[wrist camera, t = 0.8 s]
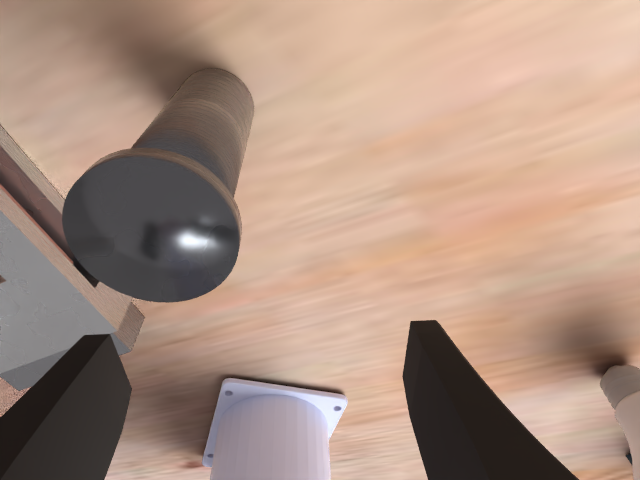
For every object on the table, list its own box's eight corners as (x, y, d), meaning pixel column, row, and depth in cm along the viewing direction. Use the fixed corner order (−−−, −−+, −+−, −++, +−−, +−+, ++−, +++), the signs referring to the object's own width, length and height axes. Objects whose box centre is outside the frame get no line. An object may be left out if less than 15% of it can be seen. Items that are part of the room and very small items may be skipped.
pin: (253, 160, 19) (224, 314, 11) (163, 138, 18) (63, 286, 10) (273, 73, 17) (254, 184, 9) (173, 44, 16) (59, 138, 8)
